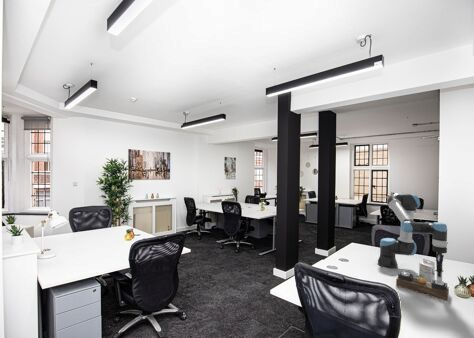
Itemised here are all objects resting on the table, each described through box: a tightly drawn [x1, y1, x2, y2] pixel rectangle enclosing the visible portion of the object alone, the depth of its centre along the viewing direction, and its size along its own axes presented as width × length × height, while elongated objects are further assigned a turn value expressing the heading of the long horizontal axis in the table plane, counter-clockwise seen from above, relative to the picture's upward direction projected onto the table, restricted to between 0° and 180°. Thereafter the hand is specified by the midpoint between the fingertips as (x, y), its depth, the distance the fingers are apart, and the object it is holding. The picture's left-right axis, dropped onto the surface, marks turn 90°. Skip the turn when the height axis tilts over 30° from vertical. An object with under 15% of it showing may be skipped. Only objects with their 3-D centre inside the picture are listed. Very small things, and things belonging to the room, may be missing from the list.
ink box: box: [418, 258, 436, 283], centre depth 188 cm, size 9×5×15 cm, turn 23°
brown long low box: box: [395, 271, 450, 302], centre depth 170 cm, size 12×28×8 cm, turn 45°
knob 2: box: [435, 279, 445, 286], centre depth 163 cm, size 5×5×4 cm
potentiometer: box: [417, 277, 427, 284], centre depth 170 cm, size 4×4×3 cm
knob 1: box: [401, 271, 411, 277], centre depth 176 cm, size 5×5×4 cm
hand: (439, 281), depth 163 cm, fingers closed
